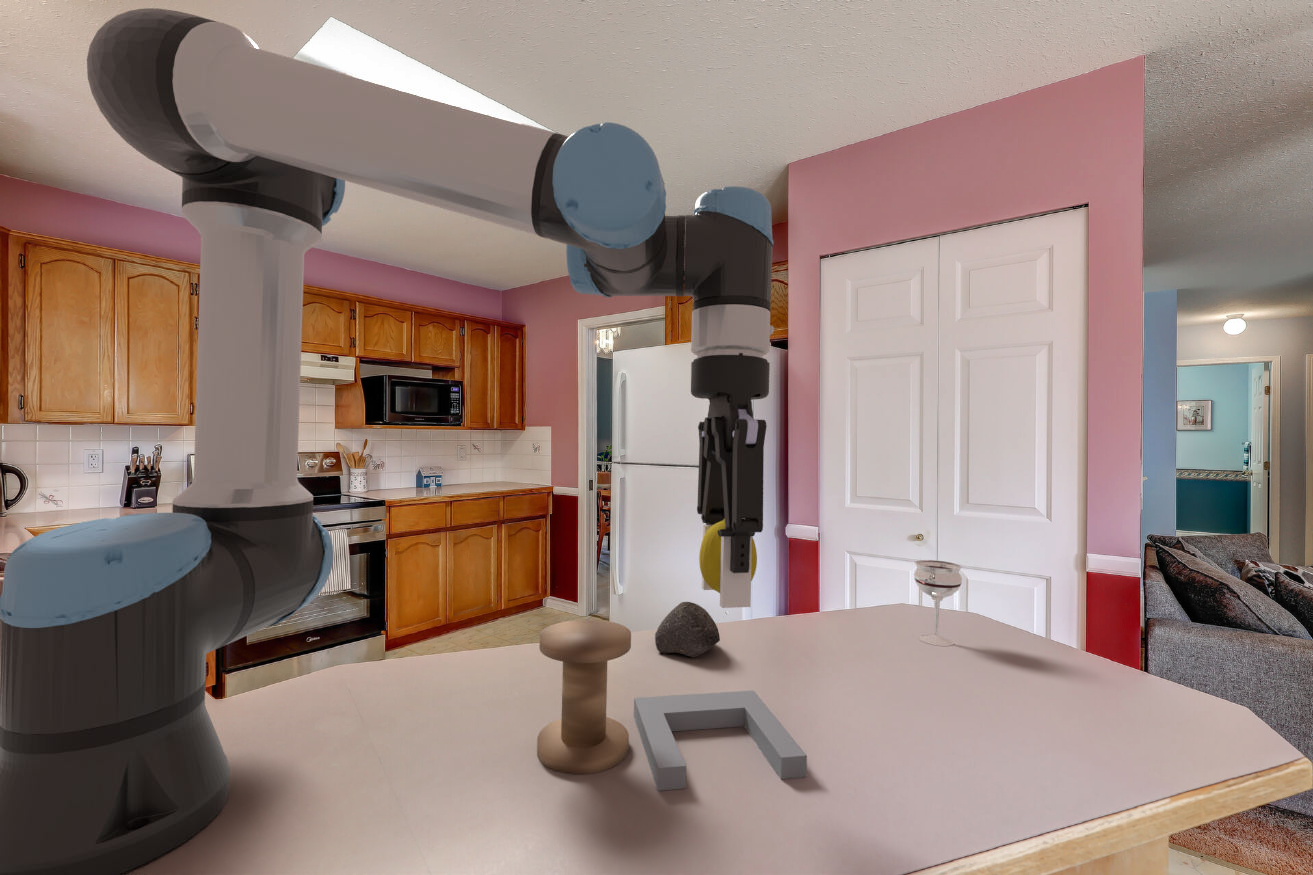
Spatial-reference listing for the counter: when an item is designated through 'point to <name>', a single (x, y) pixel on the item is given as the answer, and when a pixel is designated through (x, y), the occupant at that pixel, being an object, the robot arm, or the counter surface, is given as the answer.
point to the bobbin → (584, 697)
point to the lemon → (717, 556)
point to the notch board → (707, 713)
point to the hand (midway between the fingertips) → (724, 596)
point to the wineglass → (937, 589)
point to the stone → (687, 631)
